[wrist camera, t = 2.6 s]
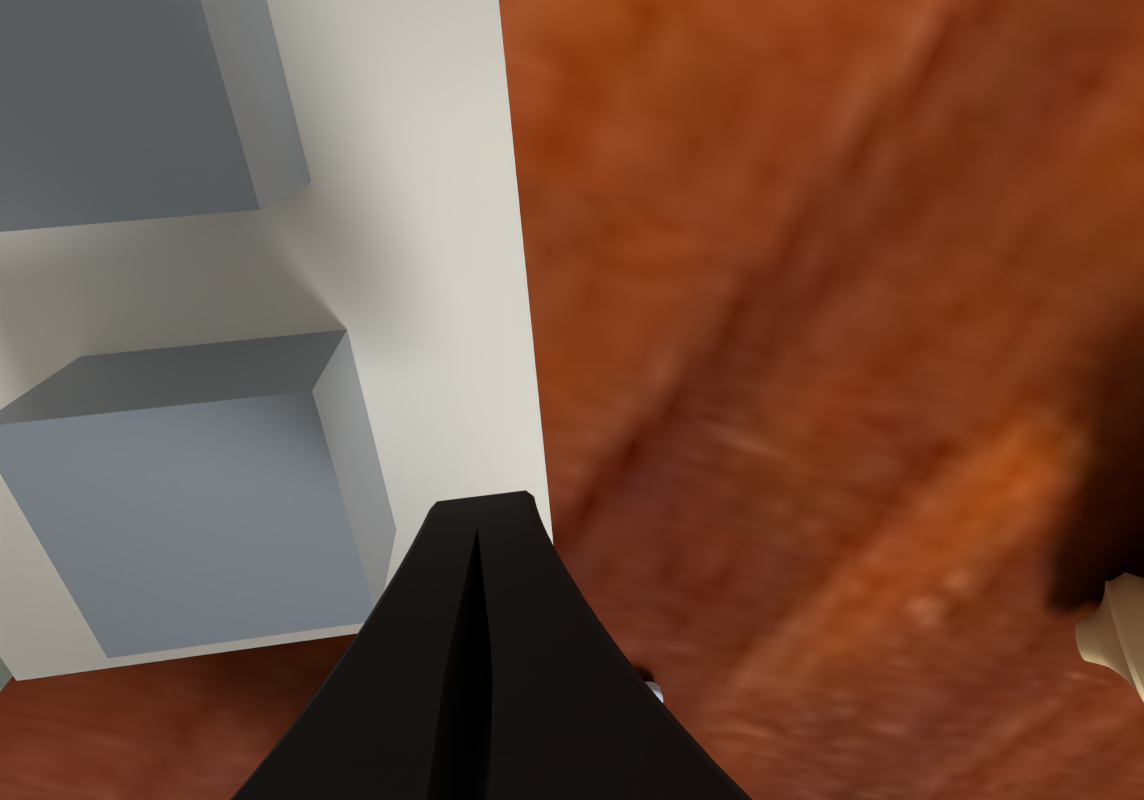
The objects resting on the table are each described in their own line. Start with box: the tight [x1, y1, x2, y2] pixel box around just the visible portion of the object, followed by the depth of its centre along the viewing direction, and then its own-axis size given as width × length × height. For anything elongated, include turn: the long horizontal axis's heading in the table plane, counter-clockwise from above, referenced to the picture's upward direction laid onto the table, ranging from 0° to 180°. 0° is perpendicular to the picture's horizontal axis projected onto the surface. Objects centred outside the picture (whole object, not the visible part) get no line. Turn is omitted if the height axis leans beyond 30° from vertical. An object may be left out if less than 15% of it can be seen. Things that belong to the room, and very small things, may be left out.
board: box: [0, 0, 553, 681], centre depth 12 cm, size 16×12×2 cm
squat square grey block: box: [0, 329, 396, 658], centre depth 11 cm, size 4×4×2 cm
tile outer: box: [0, 0, 311, 232], centre depth 8 cm, size 4×4×2 cm
